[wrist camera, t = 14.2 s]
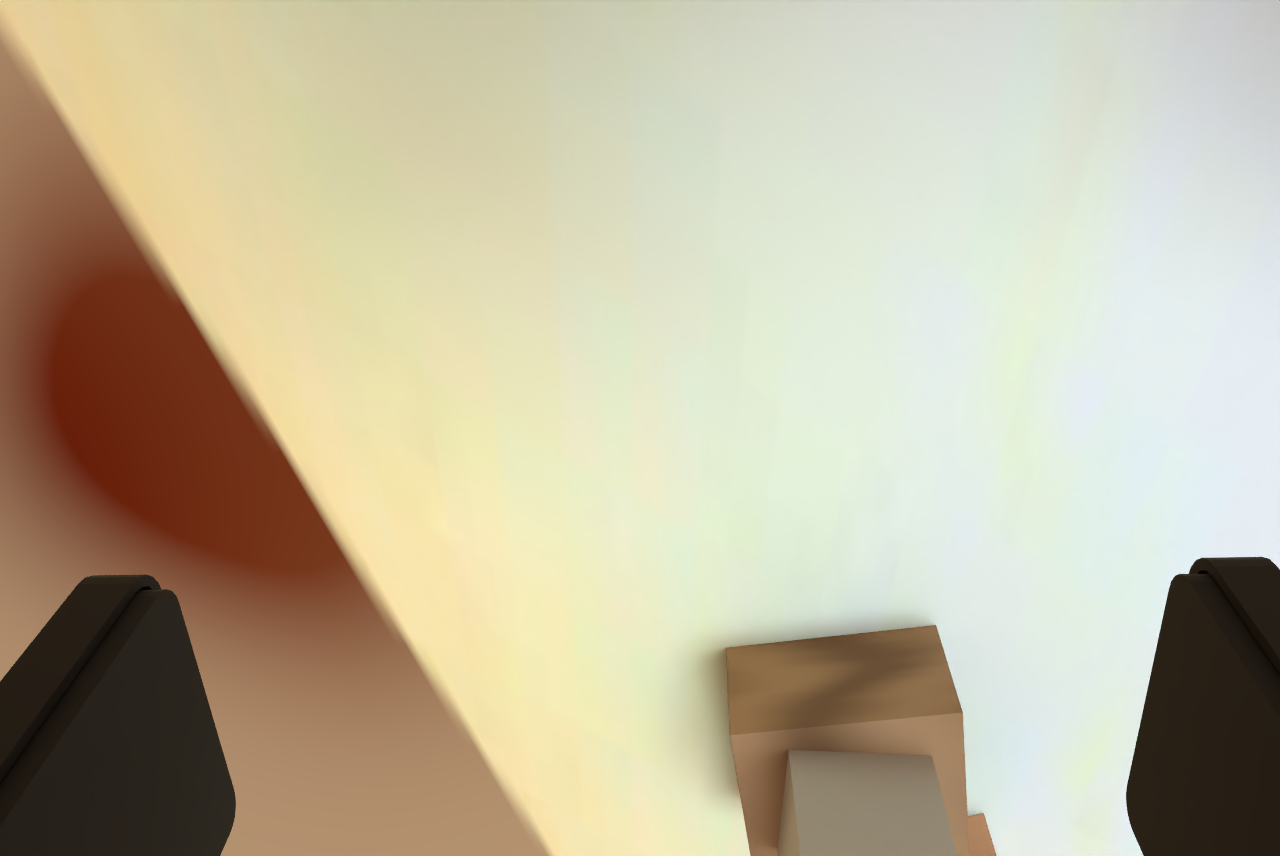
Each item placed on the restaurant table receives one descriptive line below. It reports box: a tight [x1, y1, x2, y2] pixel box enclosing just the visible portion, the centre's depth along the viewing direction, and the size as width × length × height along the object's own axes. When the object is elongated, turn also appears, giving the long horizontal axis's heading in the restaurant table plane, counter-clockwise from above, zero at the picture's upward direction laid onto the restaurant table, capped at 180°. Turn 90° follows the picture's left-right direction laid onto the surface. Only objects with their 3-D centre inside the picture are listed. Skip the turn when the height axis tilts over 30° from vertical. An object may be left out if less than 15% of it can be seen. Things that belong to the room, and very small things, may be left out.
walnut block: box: [726, 625, 969, 856], centre depth 43 cm, size 8×8×5 cm
